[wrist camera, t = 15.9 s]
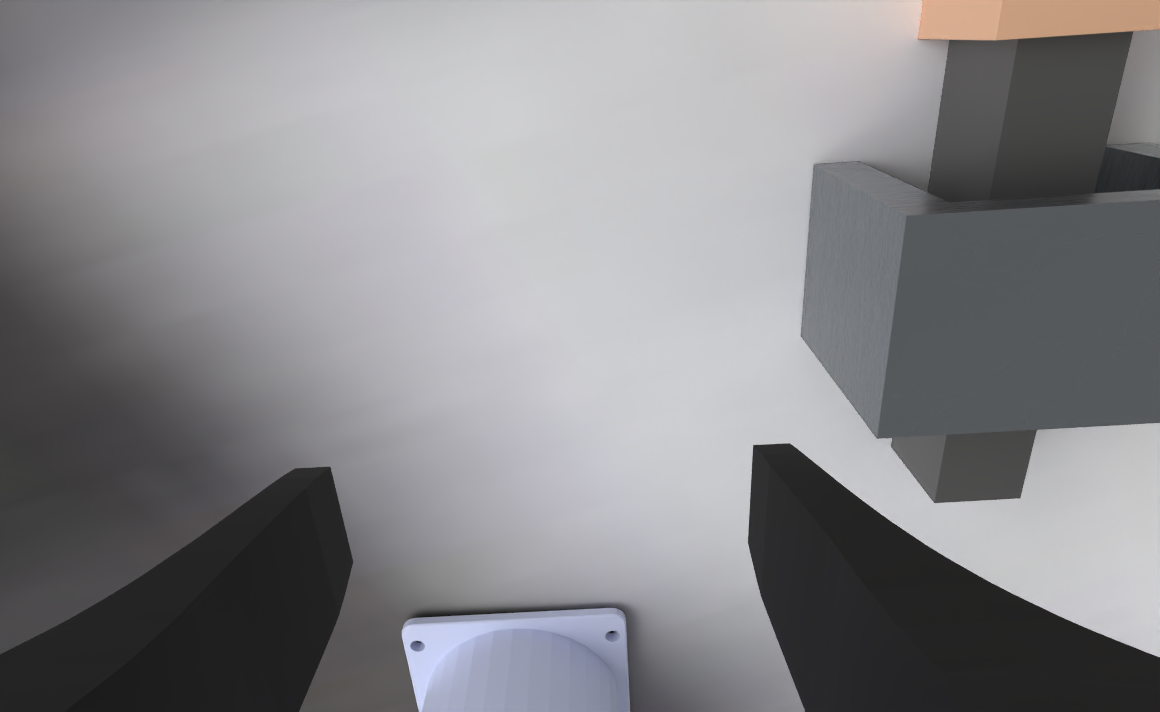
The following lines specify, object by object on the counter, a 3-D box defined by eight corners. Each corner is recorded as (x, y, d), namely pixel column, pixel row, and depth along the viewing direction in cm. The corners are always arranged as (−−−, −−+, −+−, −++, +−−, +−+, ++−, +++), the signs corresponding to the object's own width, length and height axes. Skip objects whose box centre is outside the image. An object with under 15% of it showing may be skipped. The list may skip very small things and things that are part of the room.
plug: (991, 440, 23) (1062, 509, 19) (865, 447, 23) (914, 517, 19) (1129, -212, 16) (1278, -278, 12) (947, -199, 16) (1046, -260, 12)
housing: (1170, 314, 21) (1374, 410, 15) (800, 336, 21) (876, 438, 16) (1225, 137, 19) (1482, 179, 13) (813, 164, 19) (906, 215, 14)
